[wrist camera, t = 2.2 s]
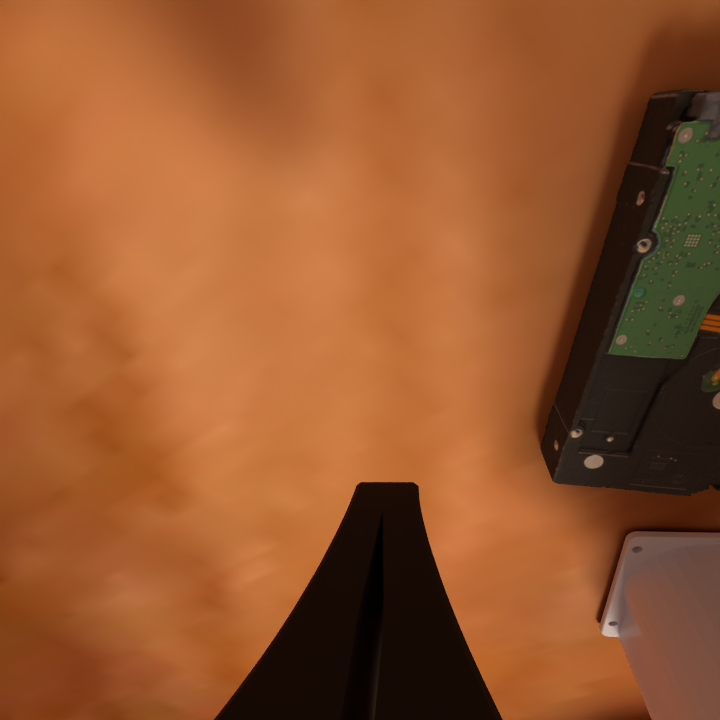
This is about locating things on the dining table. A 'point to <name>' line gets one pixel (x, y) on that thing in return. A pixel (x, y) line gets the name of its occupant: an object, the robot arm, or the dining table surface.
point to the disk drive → (651, 320)
